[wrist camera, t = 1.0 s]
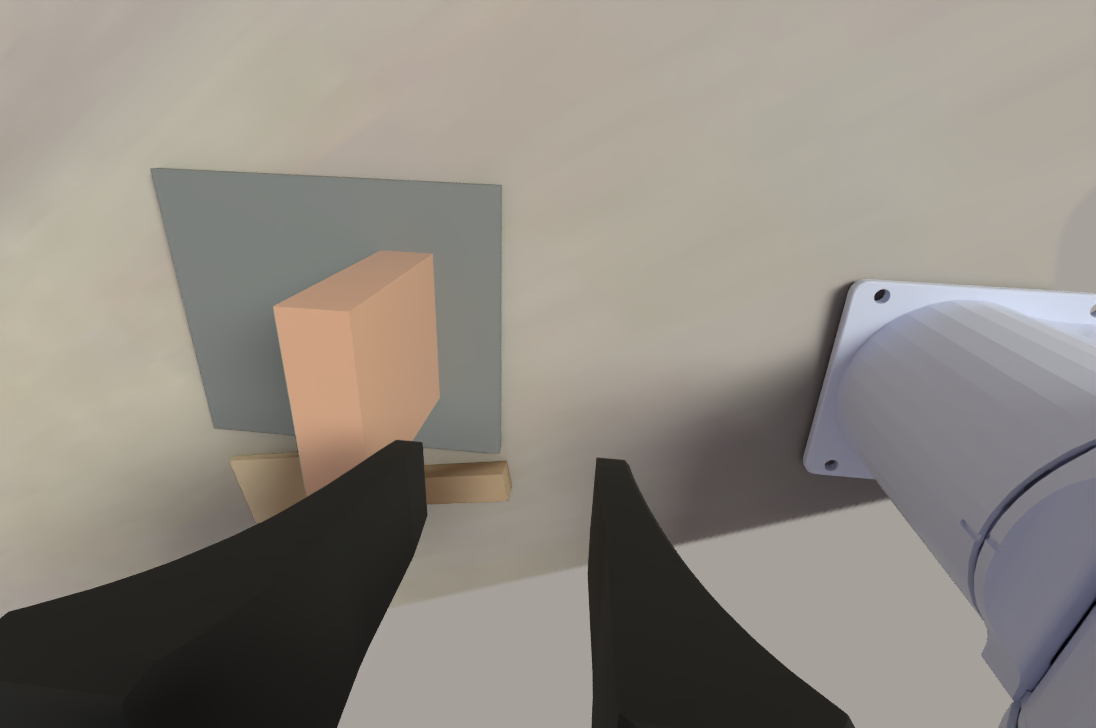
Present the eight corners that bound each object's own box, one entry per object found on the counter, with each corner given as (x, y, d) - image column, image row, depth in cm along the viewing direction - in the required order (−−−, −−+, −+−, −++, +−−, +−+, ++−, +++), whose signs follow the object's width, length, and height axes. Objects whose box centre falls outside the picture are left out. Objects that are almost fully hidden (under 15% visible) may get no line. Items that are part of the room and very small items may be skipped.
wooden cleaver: (502, 439, 23) (497, 452, 22) (515, 506, 25) (512, 521, 24) (236, 454, 25) (221, 467, 24) (262, 516, 27) (249, 529, 26)
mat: (501, 185, 19) (499, 186, 19) (500, 448, 23) (499, 454, 23) (158, 167, 20) (150, 168, 20) (220, 423, 24) (214, 428, 24)
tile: (432, 253, 20) (348, 311, 13) (439, 397, 22) (372, 504, 16) (376, 250, 20) (267, 305, 14) (389, 393, 22) (302, 497, 16)
